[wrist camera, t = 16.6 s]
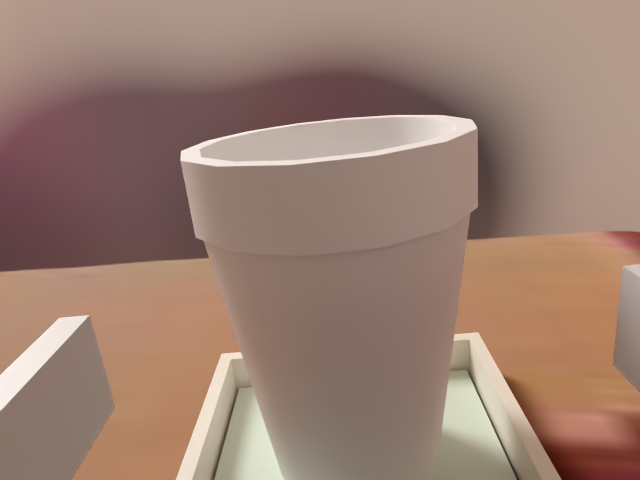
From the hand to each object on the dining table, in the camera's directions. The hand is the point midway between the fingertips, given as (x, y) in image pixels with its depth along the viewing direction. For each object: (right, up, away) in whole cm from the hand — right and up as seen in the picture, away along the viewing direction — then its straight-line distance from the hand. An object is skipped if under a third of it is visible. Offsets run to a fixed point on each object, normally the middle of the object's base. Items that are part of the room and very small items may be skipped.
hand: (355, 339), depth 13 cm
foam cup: (+1, -6, +8) cm, 10 cm away
